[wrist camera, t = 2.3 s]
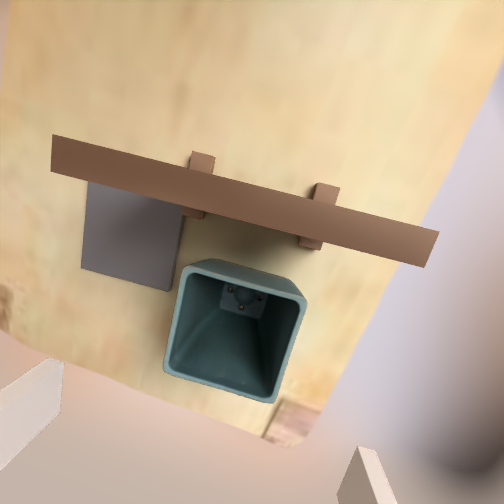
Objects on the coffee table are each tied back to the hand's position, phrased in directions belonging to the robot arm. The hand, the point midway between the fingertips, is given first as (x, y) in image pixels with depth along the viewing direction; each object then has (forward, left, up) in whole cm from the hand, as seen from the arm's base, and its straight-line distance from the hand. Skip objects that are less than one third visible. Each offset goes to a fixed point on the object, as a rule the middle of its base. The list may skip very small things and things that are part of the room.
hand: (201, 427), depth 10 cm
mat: (-3, -13, -15) cm, 20 cm away
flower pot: (0, 0, -16) cm, 16 cm away
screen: (-10, -1, -15) cm, 18 cm away
